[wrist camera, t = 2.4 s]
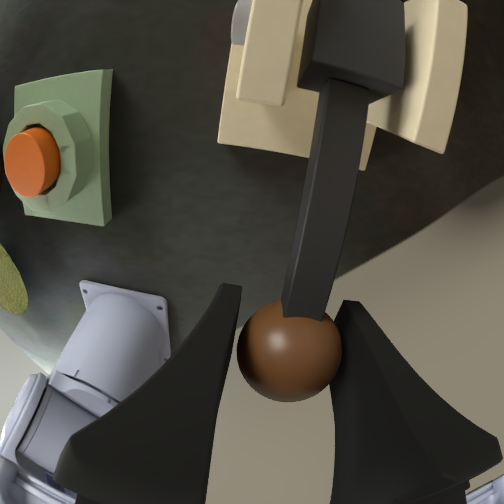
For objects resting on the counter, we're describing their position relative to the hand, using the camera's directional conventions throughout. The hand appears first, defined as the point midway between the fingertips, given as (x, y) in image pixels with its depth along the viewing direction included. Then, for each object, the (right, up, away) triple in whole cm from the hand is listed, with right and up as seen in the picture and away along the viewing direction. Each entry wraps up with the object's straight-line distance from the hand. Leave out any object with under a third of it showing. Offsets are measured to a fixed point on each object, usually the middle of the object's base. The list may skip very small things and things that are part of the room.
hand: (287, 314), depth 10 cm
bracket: (+2, +12, +3) cm, 12 cm away
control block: (-14, +9, +5) cm, 18 cm away
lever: (+1, +4, -1) cm, 4 cm away
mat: (-28, +1, +12) cm, 30 cm away
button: (-14, +8, +3) cm, 16 cm away
